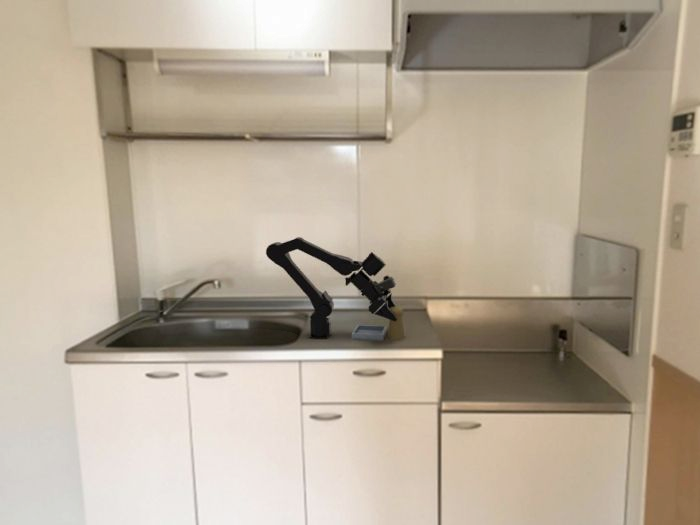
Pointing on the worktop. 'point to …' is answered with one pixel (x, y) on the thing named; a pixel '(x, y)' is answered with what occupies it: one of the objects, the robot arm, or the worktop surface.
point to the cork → (396, 325)
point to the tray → (369, 332)
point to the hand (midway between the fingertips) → (397, 317)
